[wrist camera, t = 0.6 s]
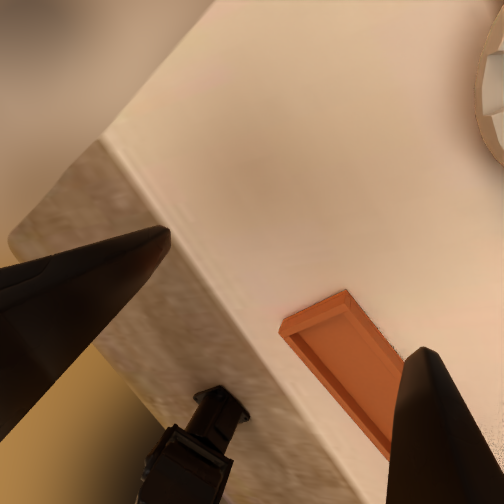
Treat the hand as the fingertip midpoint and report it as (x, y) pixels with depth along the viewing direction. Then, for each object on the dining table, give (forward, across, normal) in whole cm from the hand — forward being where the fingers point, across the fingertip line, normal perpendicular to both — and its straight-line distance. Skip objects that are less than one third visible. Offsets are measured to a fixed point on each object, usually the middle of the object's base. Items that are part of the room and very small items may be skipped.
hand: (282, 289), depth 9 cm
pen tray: (+11, -11, +19) cm, 25 cm away
